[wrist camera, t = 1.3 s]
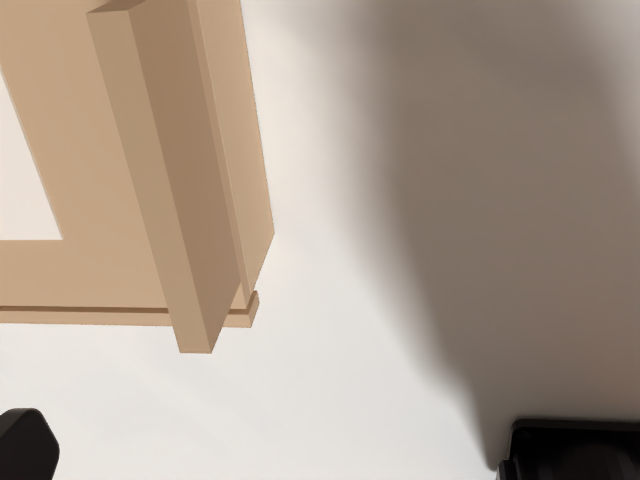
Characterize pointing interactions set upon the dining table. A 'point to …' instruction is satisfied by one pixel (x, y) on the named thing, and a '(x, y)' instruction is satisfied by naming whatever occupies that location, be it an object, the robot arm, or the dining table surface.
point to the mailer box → (238, 127)
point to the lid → (115, 172)
